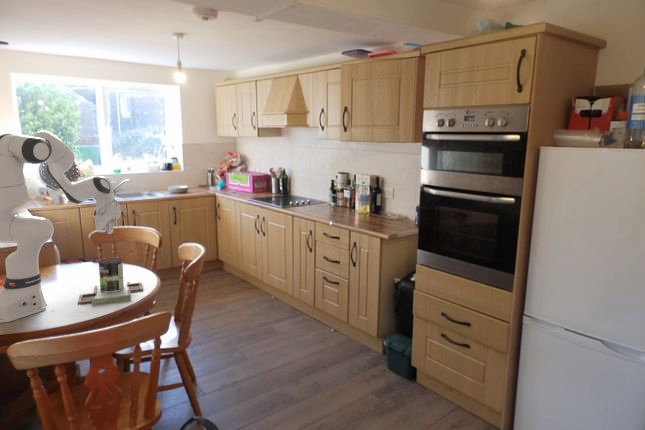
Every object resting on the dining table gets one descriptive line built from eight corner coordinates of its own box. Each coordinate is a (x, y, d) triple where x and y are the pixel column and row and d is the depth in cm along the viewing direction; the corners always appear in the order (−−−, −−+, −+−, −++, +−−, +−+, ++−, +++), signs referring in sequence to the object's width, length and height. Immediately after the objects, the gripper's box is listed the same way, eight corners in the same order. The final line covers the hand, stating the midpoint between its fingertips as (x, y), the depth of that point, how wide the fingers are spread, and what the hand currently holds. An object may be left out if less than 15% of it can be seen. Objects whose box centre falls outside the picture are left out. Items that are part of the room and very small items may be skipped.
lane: (144, 298, 192) (143, 293, 192) (77, 307, 181) (77, 301, 181) (141, 282, 214) (141, 277, 214) (81, 289, 203) (81, 284, 202)
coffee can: (109, 294, 197) (107, 264, 195) (95, 290, 202) (93, 261, 199) (129, 287, 206) (127, 259, 204) (114, 284, 211) (113, 256, 208)
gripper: (122, 198, 209) (127, 223, 205) (104, 217, 220) (108, 241, 216) (109, 197, 204) (113, 222, 200) (91, 216, 215) (95, 241, 211)
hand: (110, 232), depth 208 cm, fingers closed
